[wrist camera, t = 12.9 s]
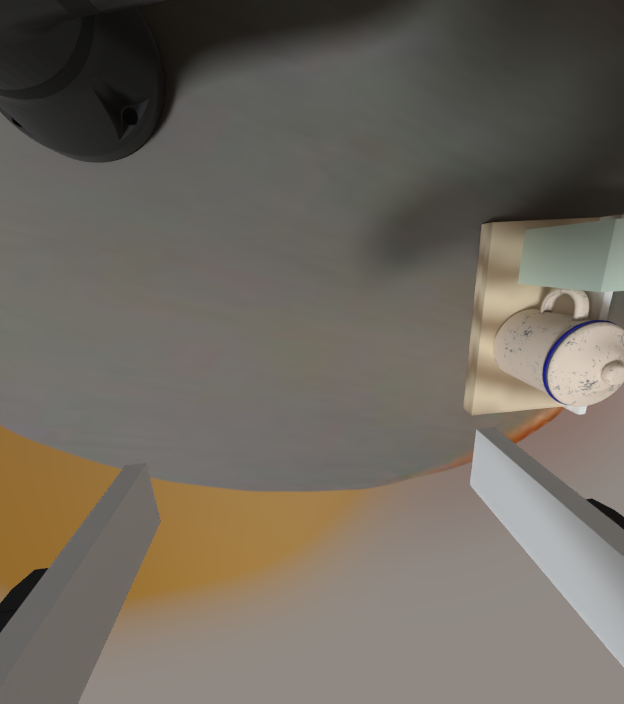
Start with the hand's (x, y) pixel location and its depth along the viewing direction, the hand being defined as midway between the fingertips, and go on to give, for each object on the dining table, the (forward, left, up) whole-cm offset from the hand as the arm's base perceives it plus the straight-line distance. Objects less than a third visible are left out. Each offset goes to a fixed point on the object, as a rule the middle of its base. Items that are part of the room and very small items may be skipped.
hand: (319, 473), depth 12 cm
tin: (-7, +30, -25) cm, 39 cm away
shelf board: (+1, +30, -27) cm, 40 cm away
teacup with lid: (+2, +29, -25) cm, 38 cm away
